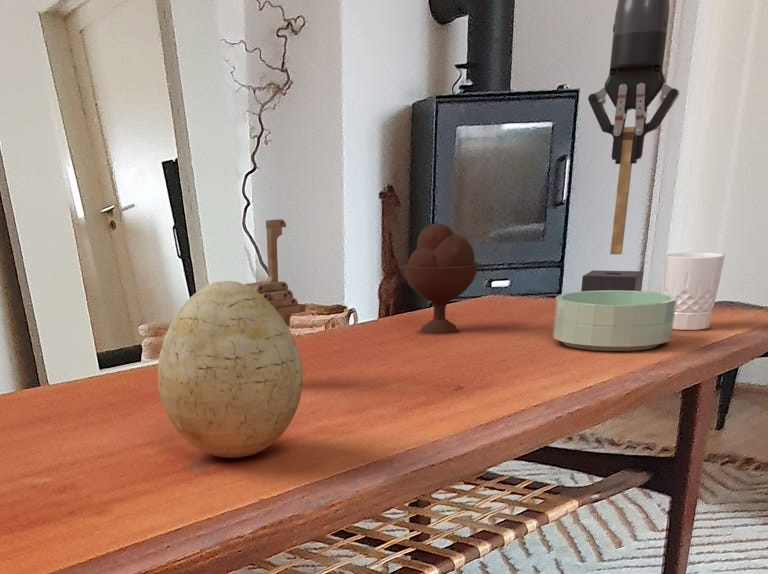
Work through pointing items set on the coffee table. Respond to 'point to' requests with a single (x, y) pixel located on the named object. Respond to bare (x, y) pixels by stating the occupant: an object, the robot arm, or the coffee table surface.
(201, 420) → the fossilized egg
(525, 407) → the coffee table surface
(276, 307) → the wooden hook post
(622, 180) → the stirring stick
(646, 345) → the mixing bowl
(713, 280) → the white cup
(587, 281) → the utensil holder
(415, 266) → the ice cream bowl
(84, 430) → the coffee table surface
